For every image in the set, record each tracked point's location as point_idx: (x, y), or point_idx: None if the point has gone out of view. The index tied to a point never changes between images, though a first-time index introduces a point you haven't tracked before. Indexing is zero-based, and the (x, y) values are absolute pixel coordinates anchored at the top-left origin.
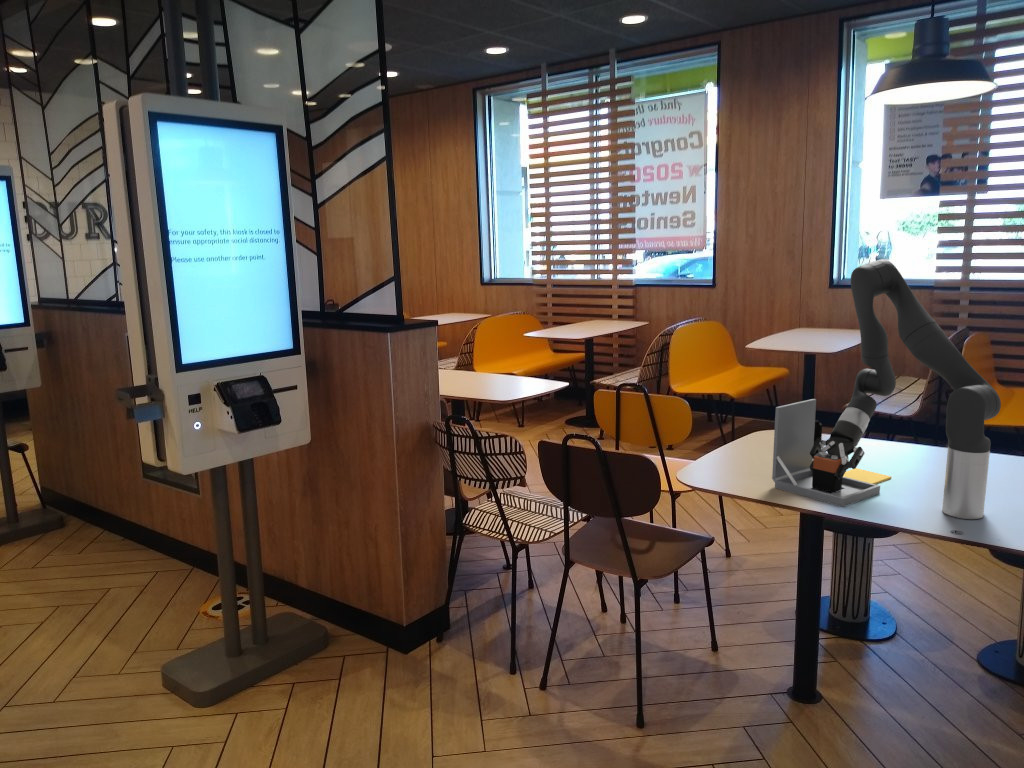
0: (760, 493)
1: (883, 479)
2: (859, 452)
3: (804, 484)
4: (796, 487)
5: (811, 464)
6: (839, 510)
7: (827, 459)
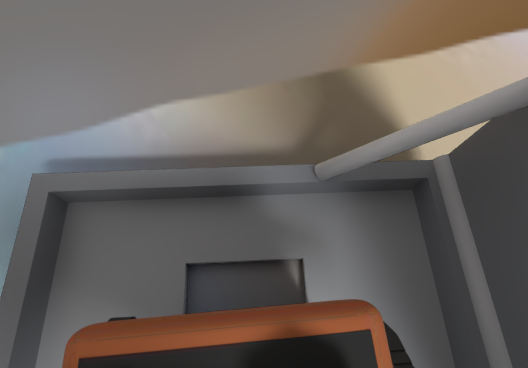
0: (386, 78)
1: None
2: None
3: None
4: (309, 167)
5: (398, 352)
6: (55, 144)
7: (185, 324)
